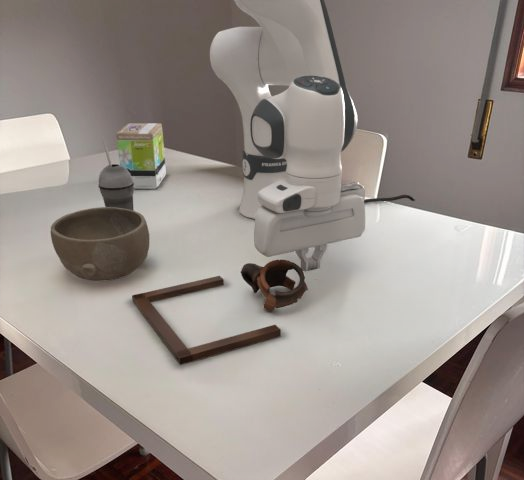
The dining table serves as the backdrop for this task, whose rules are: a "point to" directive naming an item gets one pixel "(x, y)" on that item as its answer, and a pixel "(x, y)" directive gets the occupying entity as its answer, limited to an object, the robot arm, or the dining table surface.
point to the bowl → (101, 242)
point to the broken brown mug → (275, 282)
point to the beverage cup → (116, 185)
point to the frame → (173, 340)
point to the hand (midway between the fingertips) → (310, 269)
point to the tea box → (142, 153)
